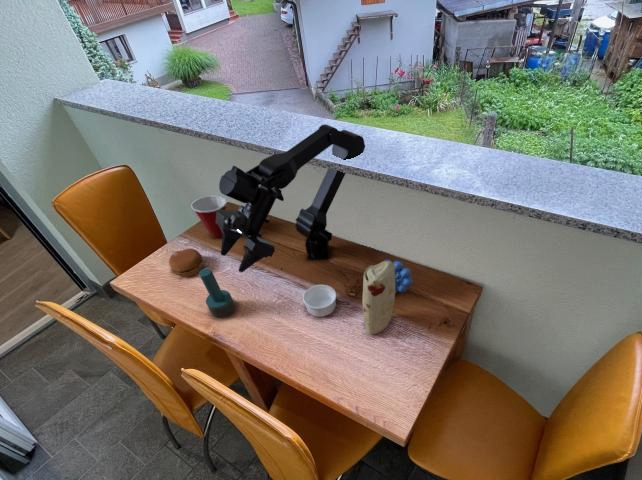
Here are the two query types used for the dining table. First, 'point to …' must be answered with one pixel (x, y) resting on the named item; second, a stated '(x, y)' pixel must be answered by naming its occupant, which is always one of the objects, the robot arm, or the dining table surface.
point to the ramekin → (320, 300)
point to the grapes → (401, 277)
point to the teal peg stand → (217, 296)
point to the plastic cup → (209, 212)
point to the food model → (378, 296)
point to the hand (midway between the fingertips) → (231, 263)
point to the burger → (186, 262)
